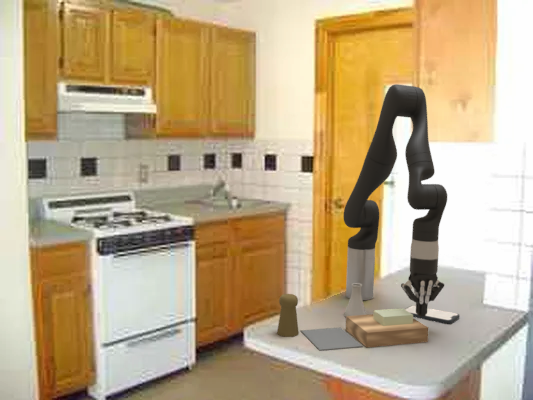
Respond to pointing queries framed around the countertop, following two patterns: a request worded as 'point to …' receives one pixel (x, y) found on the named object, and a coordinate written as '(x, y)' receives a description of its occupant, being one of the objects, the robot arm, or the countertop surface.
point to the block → (393, 317)
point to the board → (385, 331)
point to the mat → (331, 339)
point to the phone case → (435, 315)
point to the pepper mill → (288, 316)
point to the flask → (355, 302)
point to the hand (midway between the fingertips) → (421, 315)
